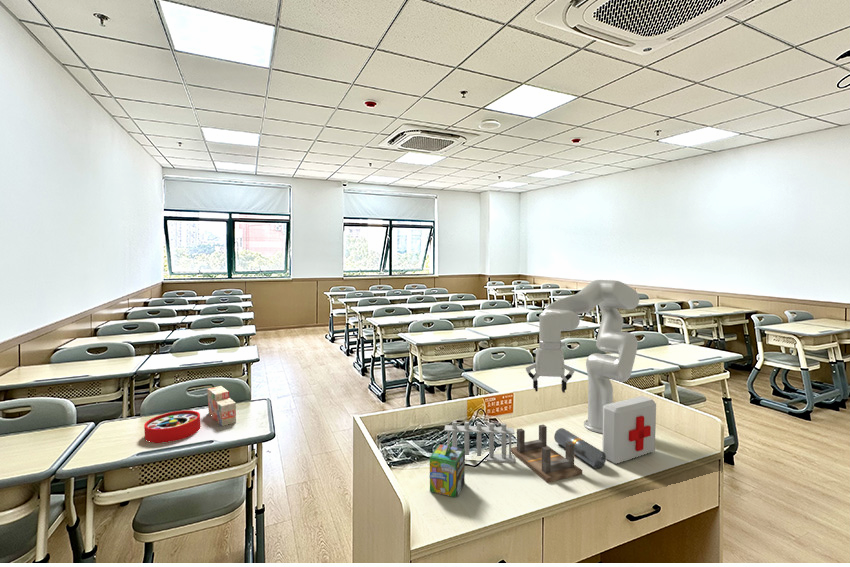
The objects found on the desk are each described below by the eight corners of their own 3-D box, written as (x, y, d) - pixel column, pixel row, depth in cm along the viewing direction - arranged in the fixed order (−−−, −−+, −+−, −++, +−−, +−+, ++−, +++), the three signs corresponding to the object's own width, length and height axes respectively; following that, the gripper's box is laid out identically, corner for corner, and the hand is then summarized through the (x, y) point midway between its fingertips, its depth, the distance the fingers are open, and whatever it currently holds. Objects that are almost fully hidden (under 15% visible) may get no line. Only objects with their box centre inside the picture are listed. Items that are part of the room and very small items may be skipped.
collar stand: (541, 445, 153) (541, 421, 152) (582, 474, 132) (582, 446, 131) (510, 451, 148) (510, 427, 147) (547, 482, 127) (547, 454, 127)
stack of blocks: (236, 422, 178) (235, 395, 177) (221, 426, 174) (220, 399, 173) (222, 409, 194) (221, 385, 193) (208, 413, 189) (207, 388, 189)
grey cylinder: (566, 442, 155) (567, 427, 155) (605, 466, 137) (606, 449, 136) (554, 444, 153) (554, 429, 153) (591, 470, 135) (592, 452, 134)
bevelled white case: (619, 468, 136) (620, 411, 135) (600, 457, 143) (601, 403, 142) (659, 454, 145) (661, 401, 143) (639, 445, 152) (640, 394, 151)
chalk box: (439, 477, 131) (438, 433, 131) (465, 482, 128) (465, 438, 127) (428, 492, 123) (428, 446, 122) (456, 498, 119) (456, 451, 119)
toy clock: (203, 420, 166) (145, 434, 154) (204, 434, 167) (146, 448, 154) (195, 407, 182) (142, 418, 170) (196, 419, 182) (143, 431, 170)
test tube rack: (444, 459, 143) (444, 424, 142) (445, 453, 147) (444, 419, 147) (514, 463, 140) (514, 426, 139) (513, 457, 144) (513, 421, 144)
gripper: (572, 343, 148) (572, 388, 149) (525, 342, 151) (524, 386, 152) (576, 348, 141) (576, 395, 142) (526, 347, 144) (526, 393, 145)
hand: (549, 390), depth 147 cm, fingers open, 9 cm apart
